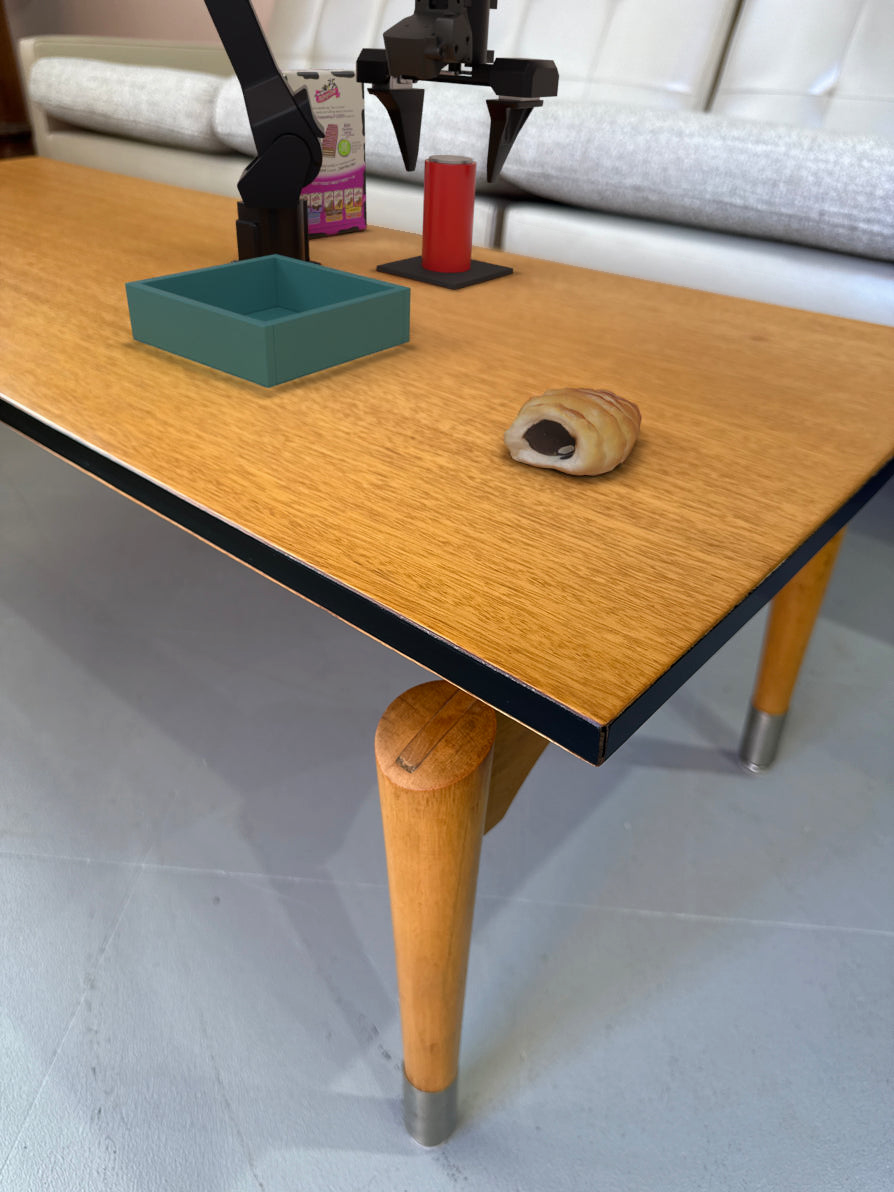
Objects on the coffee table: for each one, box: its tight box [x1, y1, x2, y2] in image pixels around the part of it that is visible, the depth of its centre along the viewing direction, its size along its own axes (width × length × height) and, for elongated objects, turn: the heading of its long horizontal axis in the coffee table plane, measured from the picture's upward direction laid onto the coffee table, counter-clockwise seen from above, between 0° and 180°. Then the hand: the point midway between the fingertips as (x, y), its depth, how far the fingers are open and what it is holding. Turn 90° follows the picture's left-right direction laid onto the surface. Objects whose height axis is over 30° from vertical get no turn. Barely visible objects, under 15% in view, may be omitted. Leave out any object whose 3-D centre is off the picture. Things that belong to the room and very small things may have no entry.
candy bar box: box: [280, 68, 368, 239], centre depth 98 cm, size 11×5×16 cm, turn 137°
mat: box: [375, 254, 514, 290], centre depth 88 cm, size 10×10×1 cm
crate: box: [124, 254, 412, 389], centre depth 65 cm, size 15×15×4 cm
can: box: [421, 154, 478, 273], centre depth 86 cm, size 5×5×10 cm
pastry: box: [502, 387, 642, 477], centre depth 51 cm, size 9×7×4 cm
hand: (449, 176), depth 84 cm, fingers open, 9 cm apart
